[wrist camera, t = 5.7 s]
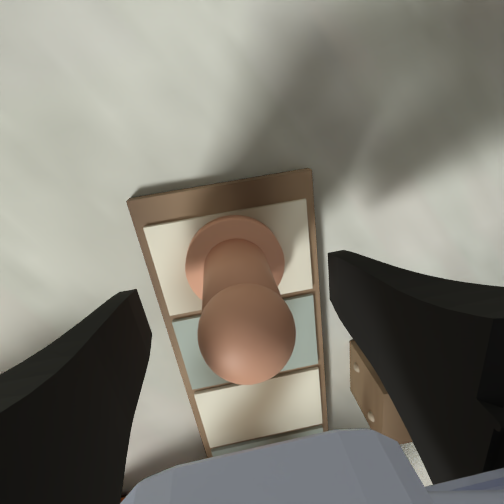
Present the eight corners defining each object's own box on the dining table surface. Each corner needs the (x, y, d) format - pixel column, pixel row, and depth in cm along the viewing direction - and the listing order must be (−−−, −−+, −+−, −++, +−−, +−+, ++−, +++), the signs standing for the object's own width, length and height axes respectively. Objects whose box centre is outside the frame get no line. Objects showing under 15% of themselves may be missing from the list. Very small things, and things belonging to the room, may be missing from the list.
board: (307, 168, 14) (313, 170, 13) (328, 469, 23) (332, 481, 22) (129, 198, 13) (124, 202, 13) (221, 493, 22) (221, 506, 21)
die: (413, 324, 18) (466, 377, 15) (408, 376, 20) (455, 435, 16) (345, 337, 18) (382, 395, 14) (347, 389, 20) (379, 453, 16)
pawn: (275, 207, 14) (330, 279, 7) (285, 292, 15) (336, 408, 9) (176, 224, 13) (145, 314, 7) (197, 308, 15) (188, 440, 9)
